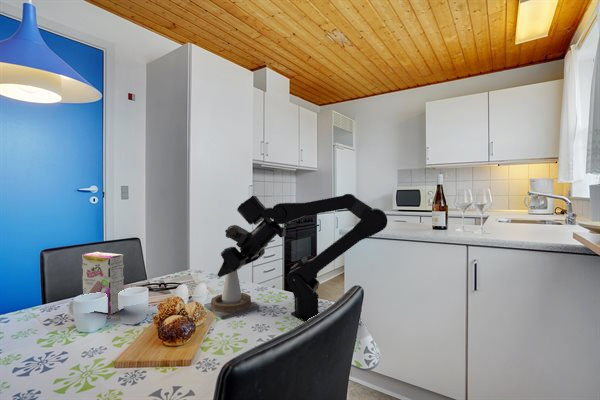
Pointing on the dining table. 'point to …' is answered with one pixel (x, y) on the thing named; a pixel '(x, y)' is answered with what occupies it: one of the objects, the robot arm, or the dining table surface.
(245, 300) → the stand
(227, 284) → the salt shaker
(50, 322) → the dining table surface
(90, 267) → the candy bar box
